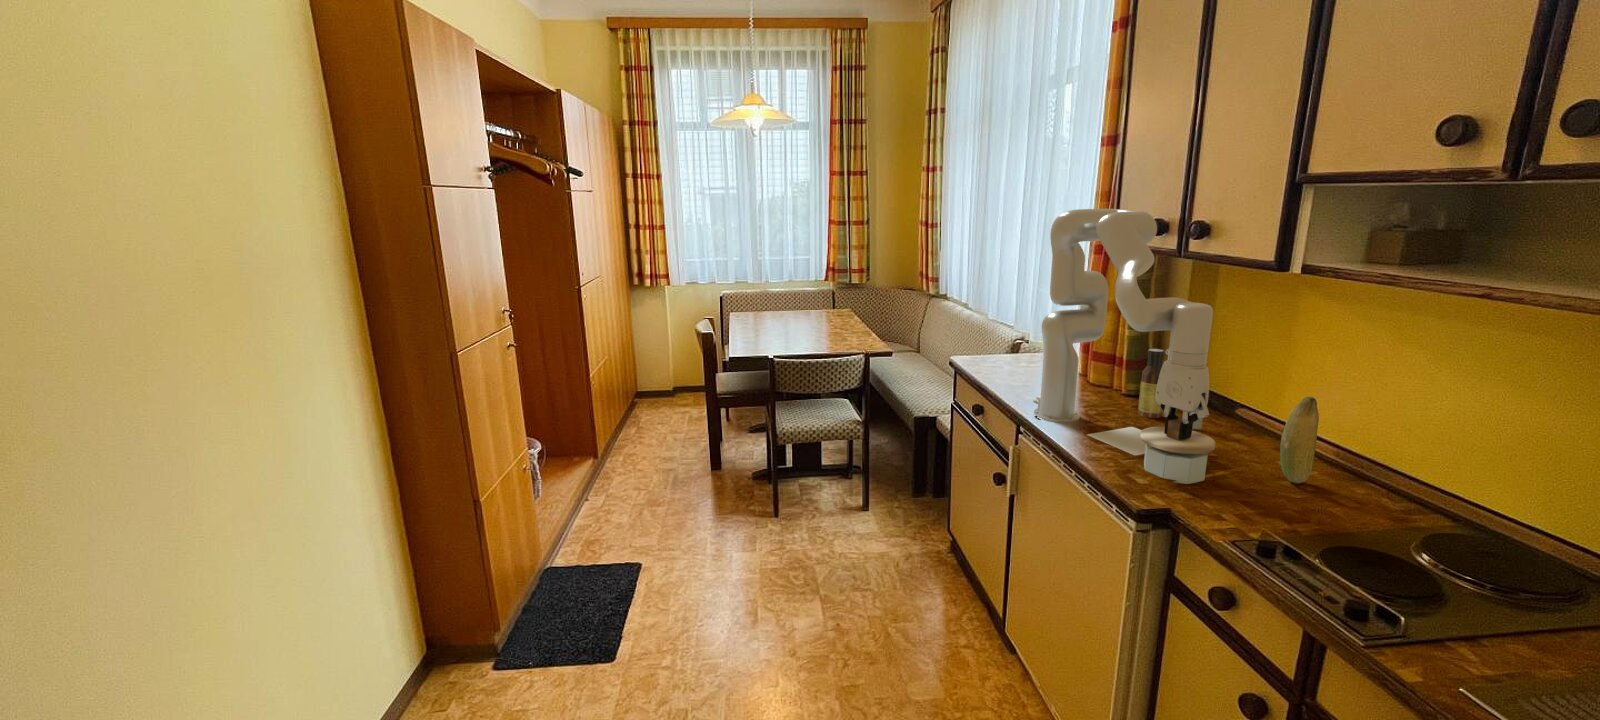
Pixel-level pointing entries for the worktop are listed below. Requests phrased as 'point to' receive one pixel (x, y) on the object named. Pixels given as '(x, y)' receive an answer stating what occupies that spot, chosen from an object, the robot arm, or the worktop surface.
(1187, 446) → the lid
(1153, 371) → the sauce bottle
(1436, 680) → the worktop surface
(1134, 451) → the mat
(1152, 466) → the bowl
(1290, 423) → the vegetable
